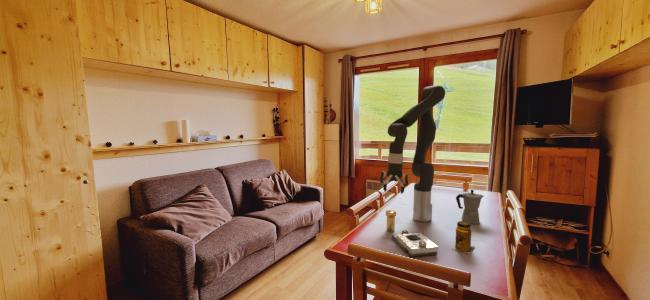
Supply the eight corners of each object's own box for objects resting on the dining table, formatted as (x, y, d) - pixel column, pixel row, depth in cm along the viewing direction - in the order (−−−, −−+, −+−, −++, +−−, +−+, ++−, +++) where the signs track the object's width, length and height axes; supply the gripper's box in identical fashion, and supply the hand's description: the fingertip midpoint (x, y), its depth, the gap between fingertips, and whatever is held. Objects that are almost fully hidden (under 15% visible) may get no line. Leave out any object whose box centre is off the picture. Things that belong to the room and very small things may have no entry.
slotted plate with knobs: (414, 235, 134) (414, 225, 134) (437, 255, 115) (438, 243, 114) (391, 237, 132) (391, 226, 132) (411, 258, 113) (411, 245, 112)
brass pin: (393, 228, 143) (393, 210, 142) (397, 232, 138) (397, 213, 137) (383, 229, 143) (384, 210, 141) (387, 233, 138) (388, 214, 136)
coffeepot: (477, 217, 158) (478, 187, 155) (487, 224, 148) (489, 191, 146) (450, 218, 157) (452, 187, 155) (459, 224, 148) (461, 192, 146)
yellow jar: (452, 249, 120) (453, 223, 119) (457, 242, 127) (458, 217, 125) (470, 254, 116) (471, 227, 114) (474, 247, 122) (476, 221, 121)
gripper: (410, 162, 143) (408, 192, 145) (383, 160, 149) (381, 189, 151) (408, 163, 136) (405, 195, 138) (380, 161, 143) (378, 191, 144)
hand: (393, 192), depth 144 cm, fingers open, 8 cm apart
